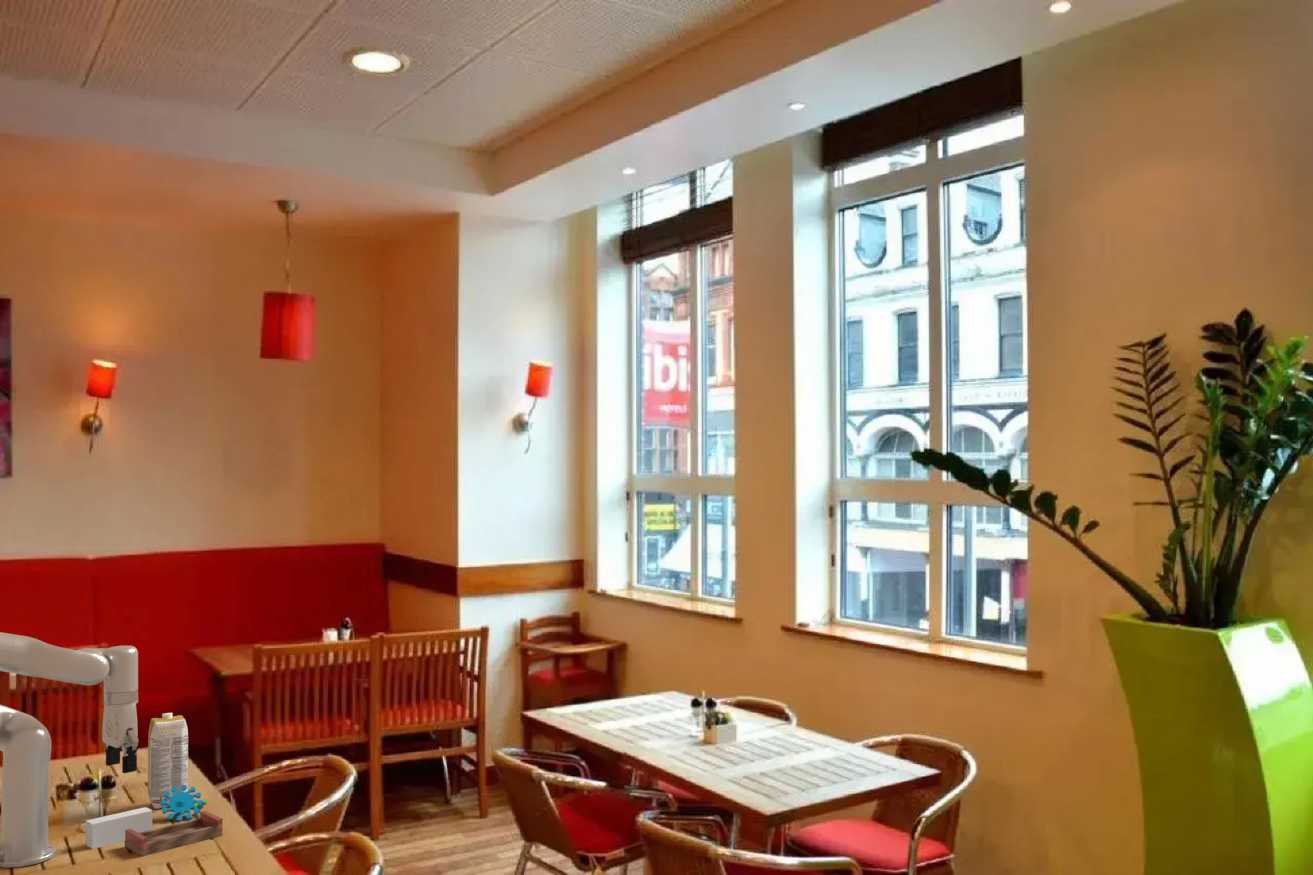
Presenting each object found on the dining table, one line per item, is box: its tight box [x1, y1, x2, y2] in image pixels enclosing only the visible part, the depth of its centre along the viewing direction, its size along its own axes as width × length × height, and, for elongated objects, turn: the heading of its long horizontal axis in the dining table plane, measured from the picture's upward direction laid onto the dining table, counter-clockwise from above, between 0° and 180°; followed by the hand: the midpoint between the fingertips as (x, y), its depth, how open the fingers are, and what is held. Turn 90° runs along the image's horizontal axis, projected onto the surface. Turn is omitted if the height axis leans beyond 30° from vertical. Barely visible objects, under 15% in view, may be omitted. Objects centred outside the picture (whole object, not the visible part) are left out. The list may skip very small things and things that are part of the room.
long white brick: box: [85, 806, 153, 850], centre depth 268 cm, size 14×4×6 cm, turn 137°
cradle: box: [124, 810, 224, 857], centre depth 267 cm, size 19×9×4 cm, turn 138°
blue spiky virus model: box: [160, 785, 208, 823], centre depth 286 cm, size 11×6×10 cm
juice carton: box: [147, 712, 189, 810], centre depth 295 cm, size 9×8×24 cm
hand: (121, 768), depth 268 cm, fingers open, 9 cm apart
